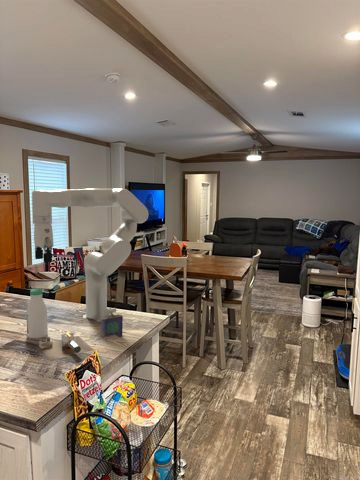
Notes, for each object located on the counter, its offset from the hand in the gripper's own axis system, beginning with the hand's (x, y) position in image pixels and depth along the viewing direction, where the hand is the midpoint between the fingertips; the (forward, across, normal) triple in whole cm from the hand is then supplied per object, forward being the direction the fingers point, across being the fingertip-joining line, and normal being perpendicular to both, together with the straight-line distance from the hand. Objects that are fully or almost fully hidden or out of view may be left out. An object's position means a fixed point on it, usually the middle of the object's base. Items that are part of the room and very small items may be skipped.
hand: (43, 260), depth 150 cm
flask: (+30, -25, -18) cm, 43 cm away
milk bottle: (+30, -8, +6) cm, 32 cm away
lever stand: (+30, -26, +2) cm, 40 cm away
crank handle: (+28, -30, +1) cm, 41 cm away
